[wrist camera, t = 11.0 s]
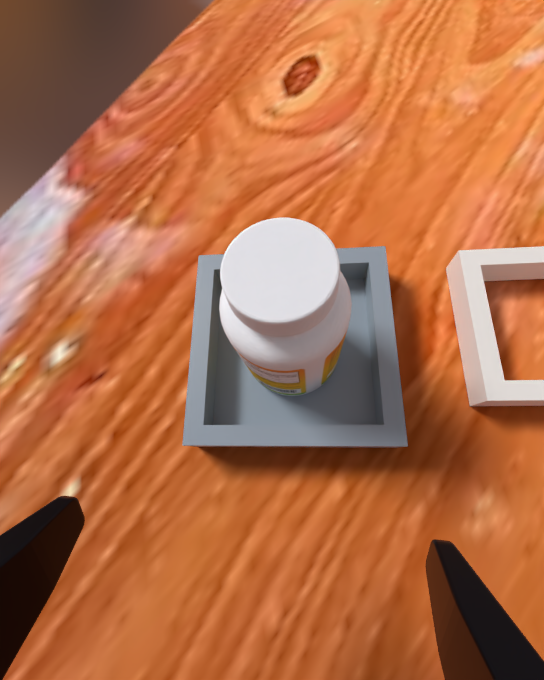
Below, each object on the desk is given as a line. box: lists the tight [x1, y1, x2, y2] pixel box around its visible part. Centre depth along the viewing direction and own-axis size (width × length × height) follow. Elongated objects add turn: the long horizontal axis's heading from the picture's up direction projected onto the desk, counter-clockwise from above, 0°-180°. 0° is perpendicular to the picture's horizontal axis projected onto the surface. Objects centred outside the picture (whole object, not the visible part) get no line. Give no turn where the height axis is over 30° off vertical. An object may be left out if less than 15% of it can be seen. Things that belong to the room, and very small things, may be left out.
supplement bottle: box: [219, 218, 352, 396], centre depth 16 cm, size 5×5×10 cm
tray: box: [183, 246, 408, 448], centre depth 20 cm, size 11×11×2 cm
